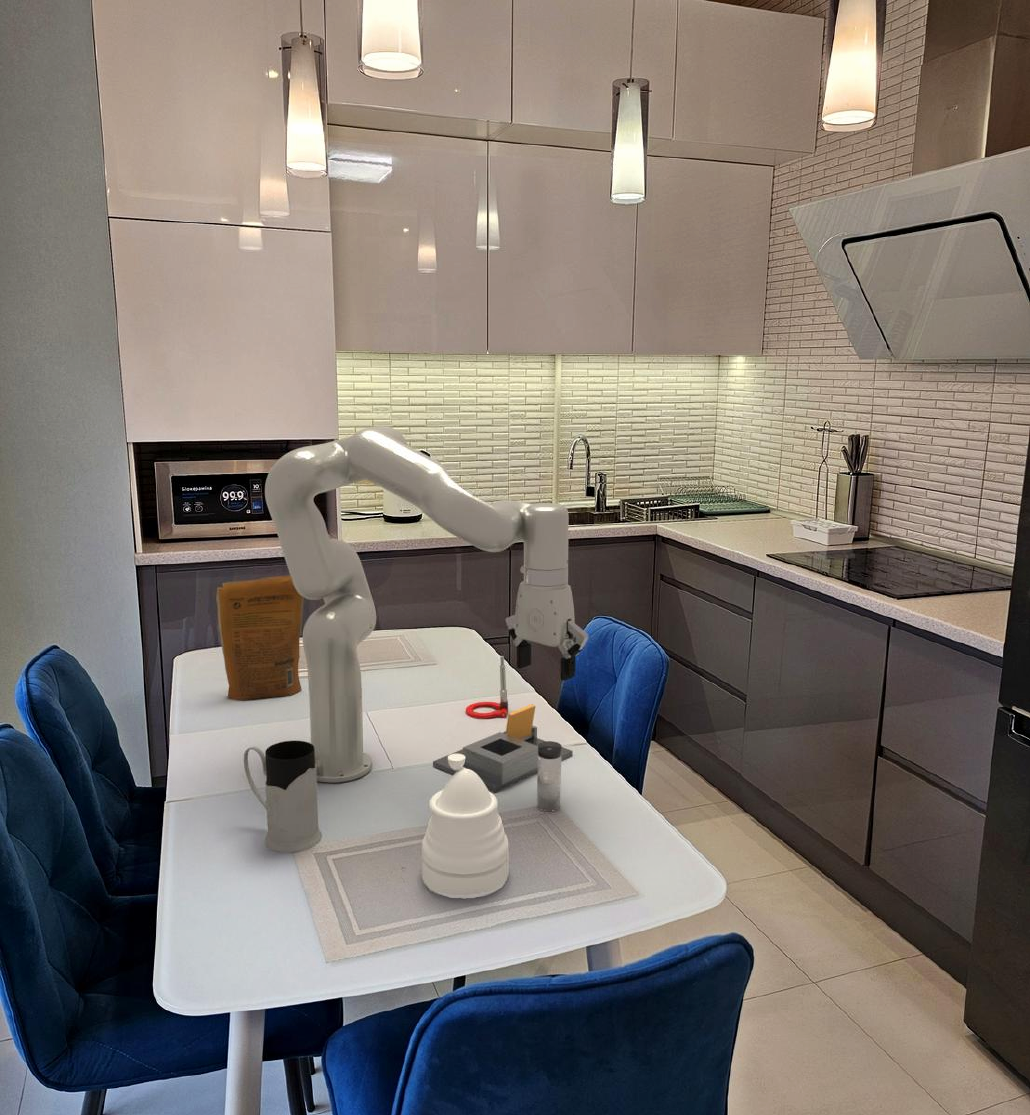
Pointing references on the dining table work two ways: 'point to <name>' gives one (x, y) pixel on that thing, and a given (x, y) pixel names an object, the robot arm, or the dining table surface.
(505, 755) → the plate
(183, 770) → the dining table surface
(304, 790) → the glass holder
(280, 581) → the pancake mix bag
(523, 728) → the tab
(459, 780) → the honey pot
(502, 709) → the tow hook
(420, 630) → the dining table surface
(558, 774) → the pin
